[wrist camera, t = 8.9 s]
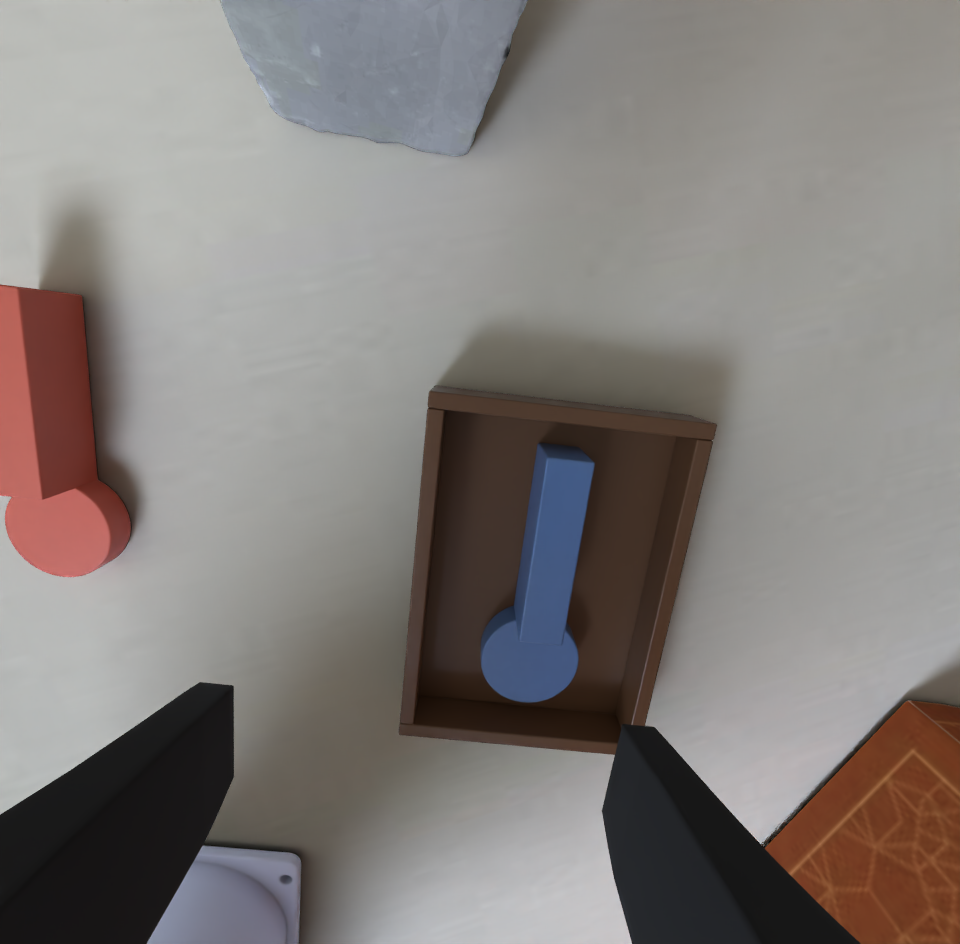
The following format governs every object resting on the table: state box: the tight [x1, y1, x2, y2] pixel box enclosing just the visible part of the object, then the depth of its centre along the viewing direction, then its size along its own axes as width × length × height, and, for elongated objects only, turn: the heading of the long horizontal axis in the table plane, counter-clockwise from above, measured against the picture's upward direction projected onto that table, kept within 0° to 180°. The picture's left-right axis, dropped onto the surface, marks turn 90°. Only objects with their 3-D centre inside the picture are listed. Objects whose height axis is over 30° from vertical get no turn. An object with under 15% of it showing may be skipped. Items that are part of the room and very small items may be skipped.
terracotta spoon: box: [0, 285, 131, 577], centre depth 15 cm, size 9×3×2 cm, turn 173°
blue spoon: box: [481, 443, 595, 702], centre depth 16 cm, size 9×3×2 cm, turn 174°
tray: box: [399, 386, 717, 755], centre depth 17 cm, size 12×8×2 cm
